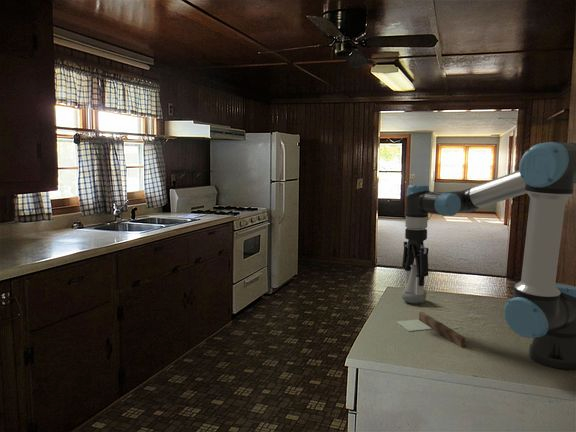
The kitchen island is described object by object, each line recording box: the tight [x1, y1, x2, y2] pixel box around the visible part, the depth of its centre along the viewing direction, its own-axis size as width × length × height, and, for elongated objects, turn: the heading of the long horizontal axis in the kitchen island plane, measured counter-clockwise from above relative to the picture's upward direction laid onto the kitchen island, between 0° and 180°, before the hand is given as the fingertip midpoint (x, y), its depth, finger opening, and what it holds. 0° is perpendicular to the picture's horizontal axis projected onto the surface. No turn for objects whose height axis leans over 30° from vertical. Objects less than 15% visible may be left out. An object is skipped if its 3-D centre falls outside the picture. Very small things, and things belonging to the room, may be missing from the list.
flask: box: [403, 264, 418, 295], centre depth 177 cm, size 7×7×10 cm
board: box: [395, 319, 432, 332], centre depth 179 cm, size 10×9×1 cm
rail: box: [418, 311, 466, 348], centre depth 172 cm, size 27×2×3 cm, turn 14°
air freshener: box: [401, 288, 427, 305], centre depth 208 cm, size 11×8×10 cm
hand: (413, 291), depth 178 cm, fingers closed on flask, 7 cm apart
